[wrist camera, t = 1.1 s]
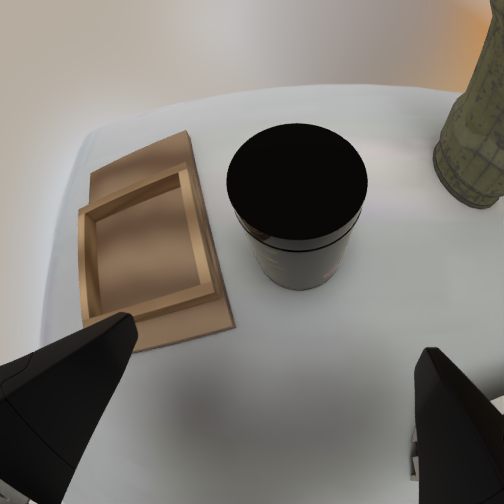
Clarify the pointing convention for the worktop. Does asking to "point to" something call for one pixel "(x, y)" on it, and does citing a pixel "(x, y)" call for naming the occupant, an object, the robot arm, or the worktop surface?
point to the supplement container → (297, 200)
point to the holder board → (151, 248)
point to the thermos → (477, 127)
